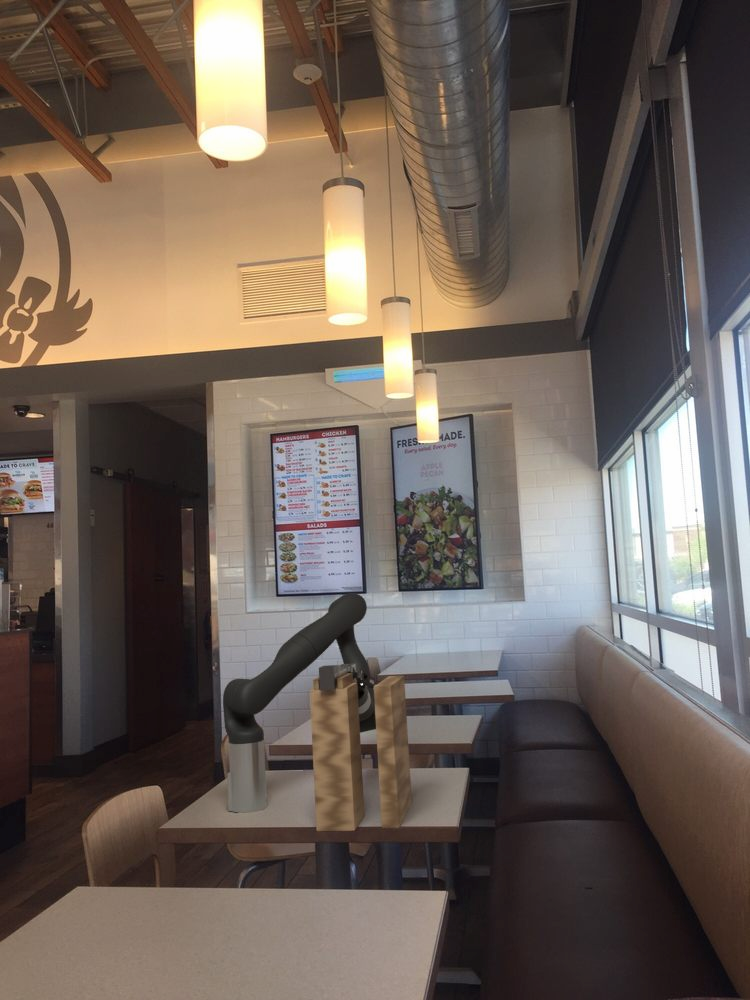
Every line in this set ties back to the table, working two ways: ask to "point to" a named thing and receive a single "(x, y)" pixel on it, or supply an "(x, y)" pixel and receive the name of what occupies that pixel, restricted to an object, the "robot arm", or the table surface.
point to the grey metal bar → (332, 675)
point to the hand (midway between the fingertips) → (341, 669)
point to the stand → (358, 754)
